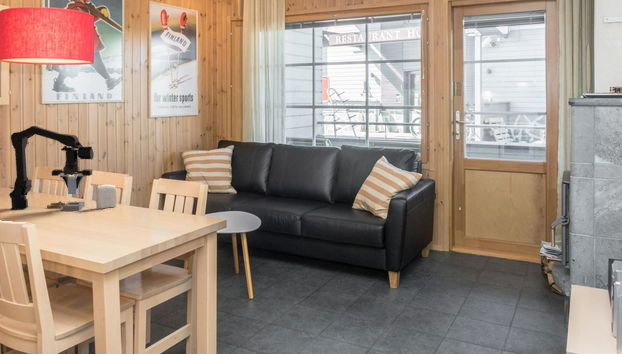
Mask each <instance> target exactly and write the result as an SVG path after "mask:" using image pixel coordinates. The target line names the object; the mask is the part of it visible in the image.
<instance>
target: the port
mask: <svg viewBox="0 0 622 354" xmlns="http://www.w3.org/2000/svg"><path fill="white" fill-rule="evenodd" d="M84 207H85V201H78V200H75V201H67V202H65V205H63V206H62V211H63V212H65V211H66V212H69V211H76V212H77V211H81V210H82V209H83V208H84Z"/></svg>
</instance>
